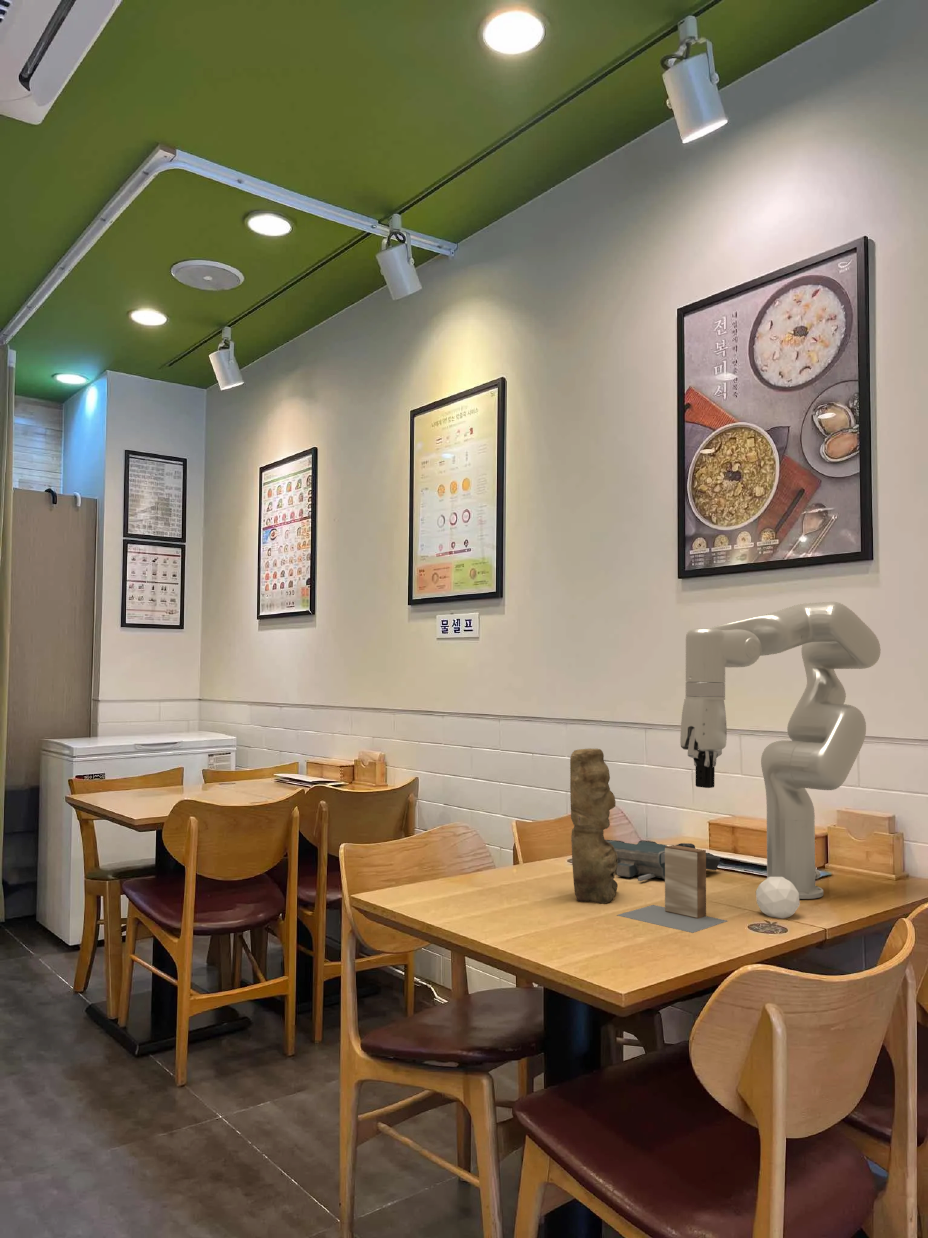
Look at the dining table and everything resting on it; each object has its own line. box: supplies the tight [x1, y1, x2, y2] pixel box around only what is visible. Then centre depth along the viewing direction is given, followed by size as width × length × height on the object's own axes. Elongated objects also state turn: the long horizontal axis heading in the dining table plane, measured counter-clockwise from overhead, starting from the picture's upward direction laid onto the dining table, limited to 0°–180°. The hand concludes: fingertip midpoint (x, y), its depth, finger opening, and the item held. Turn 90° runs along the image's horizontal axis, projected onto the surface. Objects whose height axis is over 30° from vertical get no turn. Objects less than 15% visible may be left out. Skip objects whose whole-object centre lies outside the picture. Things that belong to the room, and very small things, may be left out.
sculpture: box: [569, 748, 618, 905], centre depth 186 cm, size 12×9×30 cm
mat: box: [616, 904, 728, 934], centre depth 168 cm, size 12×16×1 cm
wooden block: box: [664, 844, 707, 919], centre depth 172 cm, size 3×7×12 cm, turn 45°
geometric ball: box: [755, 877, 801, 919], centre depth 172 cm, size 8×8×8 cm
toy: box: [605, 839, 721, 882], centre depth 215 cm, size 27×9×30 cm
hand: (704, 787), depth 178 cm, fingers closed
